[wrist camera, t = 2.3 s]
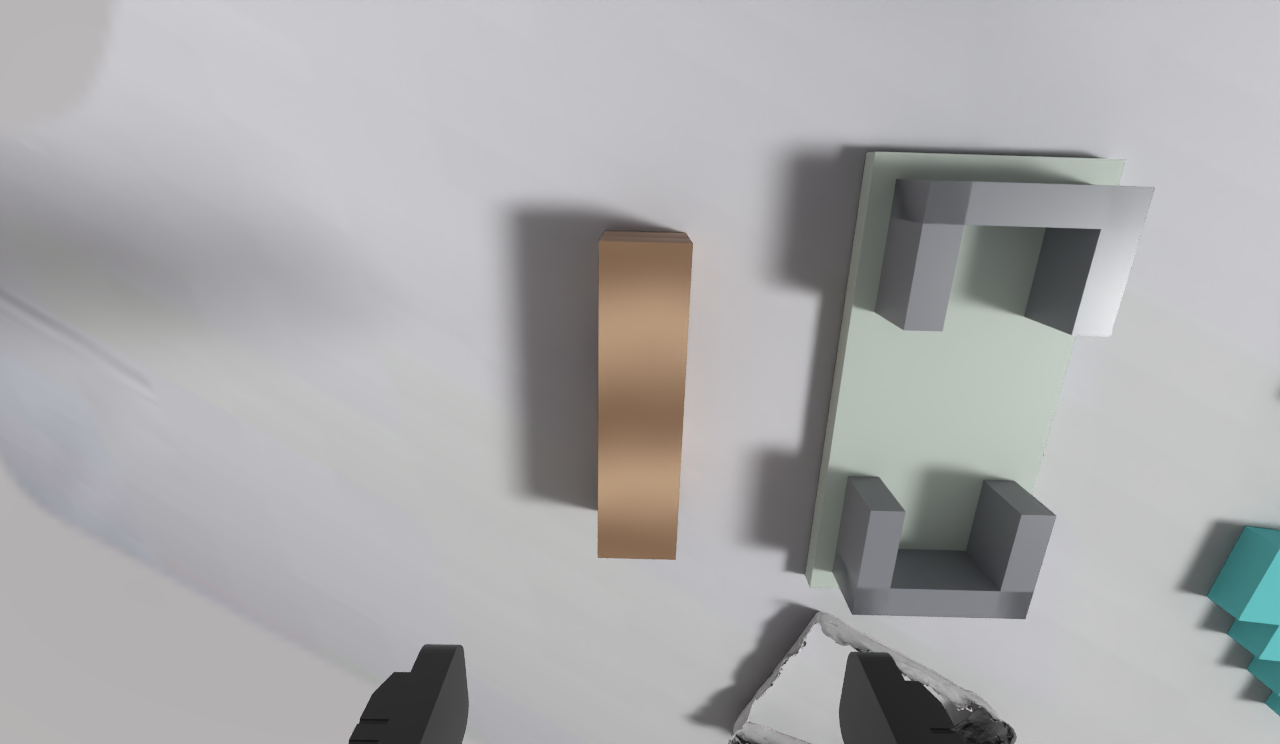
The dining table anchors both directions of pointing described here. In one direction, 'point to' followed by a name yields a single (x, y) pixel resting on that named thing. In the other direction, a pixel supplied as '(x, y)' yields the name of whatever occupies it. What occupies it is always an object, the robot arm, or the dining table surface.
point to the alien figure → (1255, 602)
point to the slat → (641, 390)
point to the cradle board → (943, 364)
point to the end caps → (917, 301)
